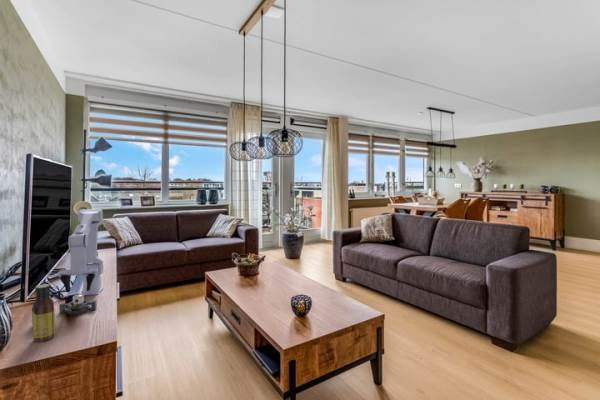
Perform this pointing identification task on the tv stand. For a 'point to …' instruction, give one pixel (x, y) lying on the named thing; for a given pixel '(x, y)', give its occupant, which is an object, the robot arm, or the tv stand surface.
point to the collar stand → (78, 307)
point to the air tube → (78, 300)
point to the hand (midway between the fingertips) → (78, 291)
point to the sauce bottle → (43, 314)
